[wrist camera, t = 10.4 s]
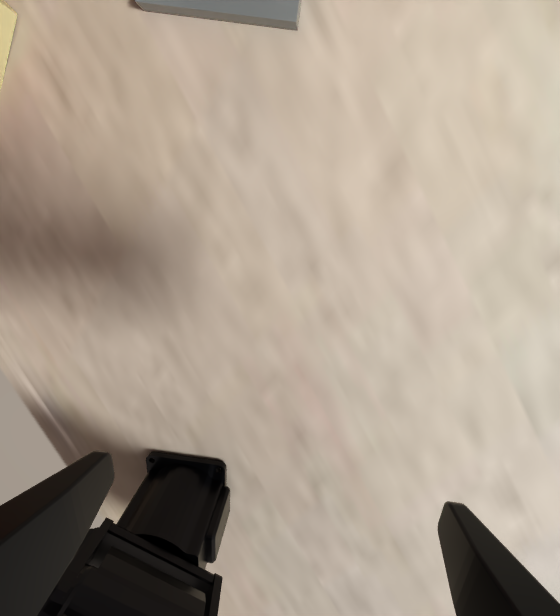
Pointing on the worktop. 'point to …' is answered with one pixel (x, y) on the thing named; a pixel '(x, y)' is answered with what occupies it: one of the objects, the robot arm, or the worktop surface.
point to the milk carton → (5, 34)
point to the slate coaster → (232, 10)
